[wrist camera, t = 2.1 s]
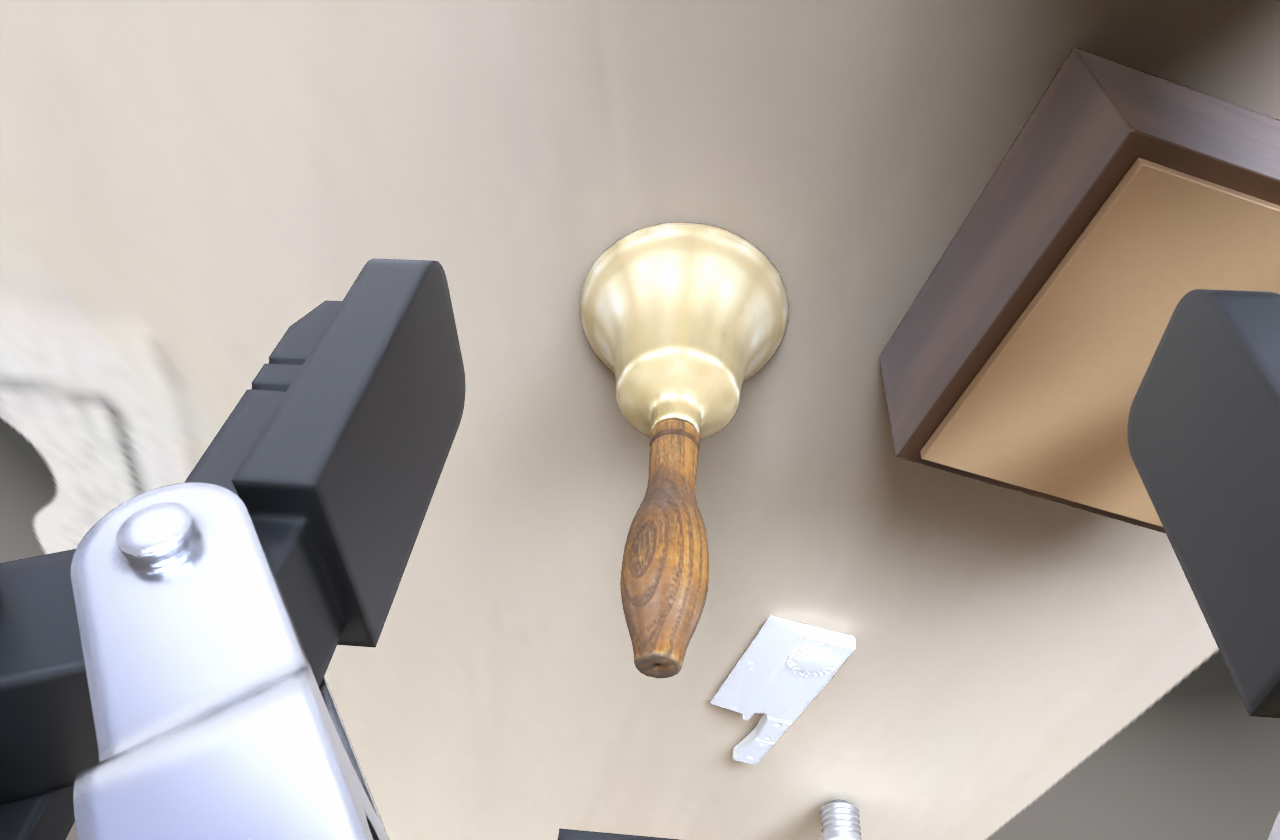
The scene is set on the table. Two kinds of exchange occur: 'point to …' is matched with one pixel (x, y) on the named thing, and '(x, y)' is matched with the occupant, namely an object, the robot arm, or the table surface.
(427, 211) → the table surface
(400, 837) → the table surface
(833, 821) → the lightbulb
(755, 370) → the hand bell
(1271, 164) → the block
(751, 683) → the white cleaver
